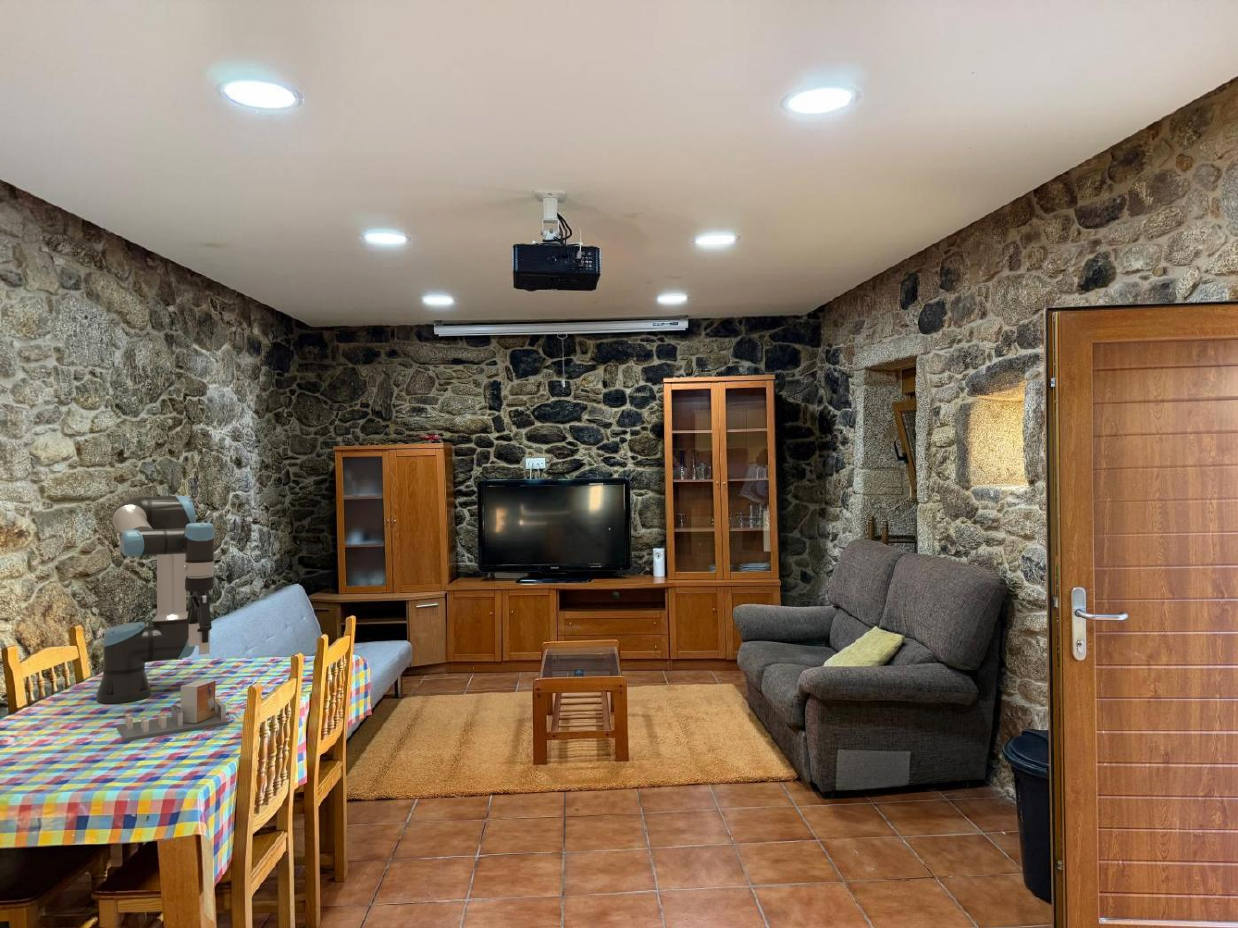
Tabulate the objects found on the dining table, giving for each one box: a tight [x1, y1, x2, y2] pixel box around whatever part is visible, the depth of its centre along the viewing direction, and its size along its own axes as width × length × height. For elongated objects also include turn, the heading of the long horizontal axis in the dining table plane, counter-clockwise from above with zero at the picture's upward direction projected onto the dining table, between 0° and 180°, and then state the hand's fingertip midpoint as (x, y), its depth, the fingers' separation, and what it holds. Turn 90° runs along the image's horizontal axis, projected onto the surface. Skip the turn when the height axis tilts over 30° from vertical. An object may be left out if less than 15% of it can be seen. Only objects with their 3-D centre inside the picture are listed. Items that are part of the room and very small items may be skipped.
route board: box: [116, 712, 229, 742], centre depth 245 cm, size 15×26×4 cm, turn 127°
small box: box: [179, 679, 216, 723], centre depth 248 cm, size 8×6×10 cm
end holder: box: [170, 698, 227, 727], centre depth 248 cm, size 10×12×4 cm
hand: (198, 649), depth 248 cm, fingers open, 13 cm apart
